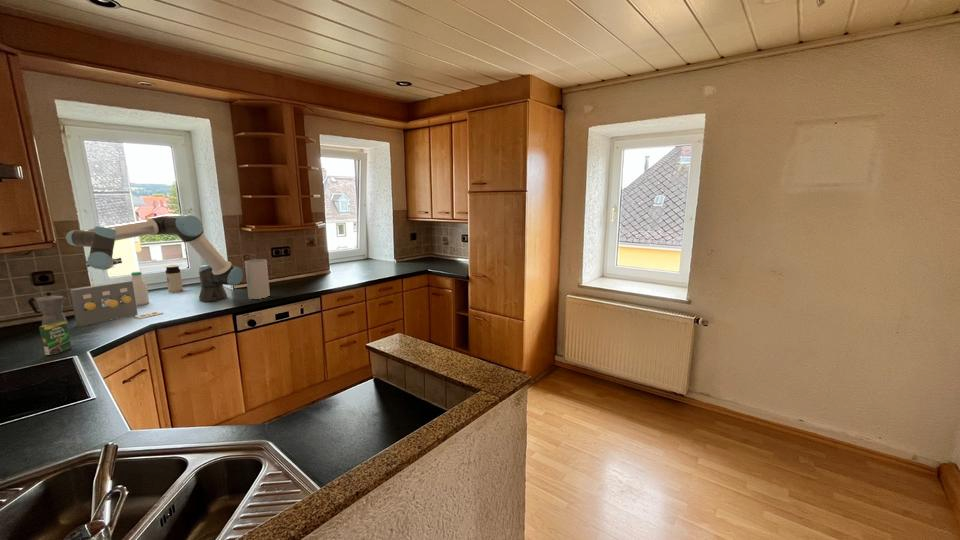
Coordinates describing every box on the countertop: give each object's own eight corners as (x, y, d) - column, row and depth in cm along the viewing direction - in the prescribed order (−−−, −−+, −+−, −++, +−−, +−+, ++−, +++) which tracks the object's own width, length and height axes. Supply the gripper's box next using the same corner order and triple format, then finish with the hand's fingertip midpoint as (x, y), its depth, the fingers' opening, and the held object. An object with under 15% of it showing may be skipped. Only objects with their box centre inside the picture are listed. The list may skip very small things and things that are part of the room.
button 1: (96, 309, 199) (95, 301, 198) (86, 311, 196) (85, 303, 195) (89, 307, 202) (88, 299, 201) (79, 309, 198) (78, 301, 198)
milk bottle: (152, 302, 241) (148, 271, 237) (140, 305, 233) (135, 273, 230) (141, 301, 242) (136, 270, 238) (129, 305, 234) (124, 273, 230)
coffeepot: (78, 322, 202) (71, 289, 198) (64, 328, 193) (57, 293, 189) (41, 324, 198) (34, 290, 194) (25, 330, 189) (17, 295, 186)
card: (163, 313, 219) (163, 312, 219) (140, 318, 209) (139, 317, 209) (157, 312, 221) (157, 310, 221) (134, 317, 212) (133, 316, 211)
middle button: (118, 306, 204) (117, 299, 203) (109, 308, 201) (108, 300, 200) (111, 304, 207) (110, 297, 206) (102, 306, 204) (100, 299, 203)
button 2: (132, 302, 213) (130, 295, 212) (123, 303, 209) (121, 296, 208) (125, 300, 215) (123, 293, 215) (116, 302, 212) (114, 295, 211)
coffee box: (49, 356, 160) (43, 326, 158) (44, 356, 161) (37, 326, 158) (72, 349, 168) (67, 320, 165) (67, 348, 168) (61, 320, 166)
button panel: (137, 314, 217) (132, 281, 213) (80, 326, 196) (73, 290, 192) (133, 313, 219) (128, 280, 215) (76, 325, 197) (69, 289, 194)
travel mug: (182, 289, 275) (179, 264, 272) (183, 291, 269) (179, 266, 266) (168, 290, 270) (164, 265, 267) (168, 292, 264) (165, 267, 261)
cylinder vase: (261, 300, 249) (257, 262, 244) (243, 299, 251) (240, 261, 246) (274, 295, 261) (271, 259, 256) (257, 294, 263) (254, 258, 258)
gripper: (85, 271, 180) (92, 272, 198) (122, 267, 188) (125, 268, 206) (81, 255, 179) (88, 258, 197) (119, 252, 188) (123, 254, 206)
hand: (107, 263), depth 202 cm, fingers closed
